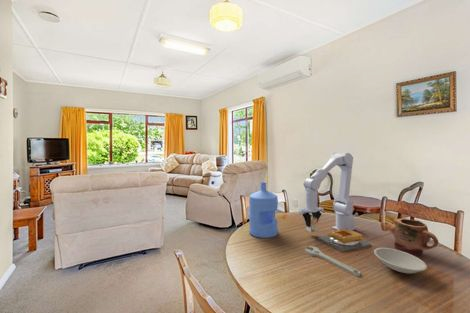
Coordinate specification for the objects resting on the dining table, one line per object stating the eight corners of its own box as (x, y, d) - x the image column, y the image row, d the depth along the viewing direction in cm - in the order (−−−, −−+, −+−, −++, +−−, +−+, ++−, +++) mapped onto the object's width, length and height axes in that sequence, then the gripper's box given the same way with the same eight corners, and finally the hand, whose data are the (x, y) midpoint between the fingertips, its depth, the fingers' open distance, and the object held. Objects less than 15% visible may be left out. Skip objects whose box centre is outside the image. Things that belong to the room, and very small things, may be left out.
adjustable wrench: (362, 276, 84) (362, 271, 84) (350, 280, 82) (350, 276, 82) (312, 248, 107) (312, 244, 107) (301, 251, 104) (301, 247, 104)
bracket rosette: (344, 233, 123) (344, 225, 123) (371, 245, 108) (371, 236, 108) (317, 239, 117) (318, 230, 117) (342, 252, 102) (343, 242, 102)
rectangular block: (312, 228, 124) (312, 216, 124) (317, 231, 120) (317, 218, 120) (306, 229, 123) (306, 216, 122) (311, 232, 119) (311, 219, 119)
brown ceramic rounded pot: (448, 261, 94) (449, 228, 93) (429, 267, 89) (430, 232, 89) (399, 242, 112) (399, 214, 112) (381, 246, 108) (381, 217, 108)
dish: (364, 261, 94) (364, 249, 94) (392, 257, 97) (392, 245, 97) (406, 287, 77) (406, 272, 77) (437, 280, 80) (438, 266, 80)
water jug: (243, 233, 125) (243, 183, 124) (260, 225, 137) (260, 179, 136) (266, 241, 115) (266, 186, 113) (283, 232, 126) (283, 182, 125)
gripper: (317, 197, 127) (317, 221, 128) (295, 200, 122) (295, 225, 122) (326, 200, 120) (326, 225, 121) (304, 203, 115) (304, 229, 116)
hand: (311, 225), depth 121 cm, fingers closed on rectangular block, 4 cm apart
